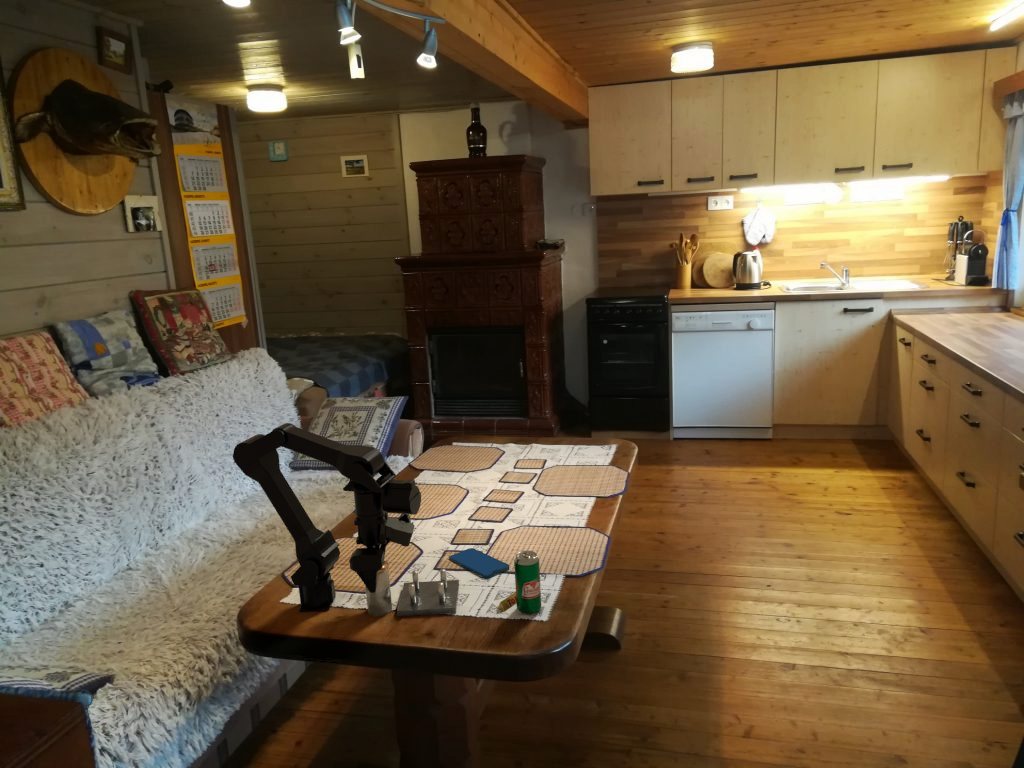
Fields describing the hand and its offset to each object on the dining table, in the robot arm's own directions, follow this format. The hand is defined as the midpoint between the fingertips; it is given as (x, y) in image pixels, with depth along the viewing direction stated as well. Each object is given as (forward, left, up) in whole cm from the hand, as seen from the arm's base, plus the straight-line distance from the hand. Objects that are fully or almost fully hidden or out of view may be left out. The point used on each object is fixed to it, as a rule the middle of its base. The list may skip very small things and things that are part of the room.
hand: (376, 581), depth 157 cm
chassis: (+10, +3, -7) cm, 12 cm away
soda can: (+31, -3, -7) cm, 32 cm away
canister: (0, 0, -7) cm, 7 cm away
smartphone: (+20, +19, -7) cm, 29 cm away
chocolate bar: (+29, +2, -7) cm, 30 cm away
